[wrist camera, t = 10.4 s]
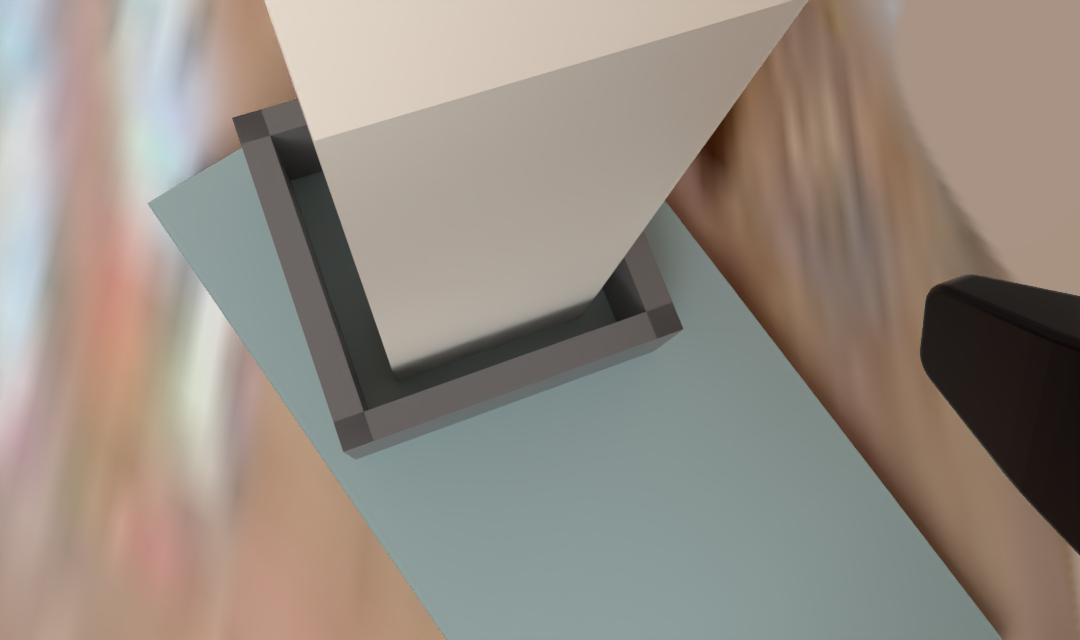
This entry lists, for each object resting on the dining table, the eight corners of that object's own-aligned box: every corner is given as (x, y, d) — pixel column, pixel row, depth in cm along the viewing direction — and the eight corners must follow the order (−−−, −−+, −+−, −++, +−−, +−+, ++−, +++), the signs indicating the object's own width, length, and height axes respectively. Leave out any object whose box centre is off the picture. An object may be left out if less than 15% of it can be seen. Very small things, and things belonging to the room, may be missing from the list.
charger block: (581, 316, 20) (843, -48, 7) (396, 381, 19) (302, 106, 6) (514, 144, 21) (637, -475, 8) (332, 200, 20) (130, -386, 7)
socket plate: (994, 657, 21) (1103, 685, 17) (670, 959, 18) (722, 1060, 15) (501, 14, 23) (512, -73, 19) (161, 217, 21) (105, 159, 17)
